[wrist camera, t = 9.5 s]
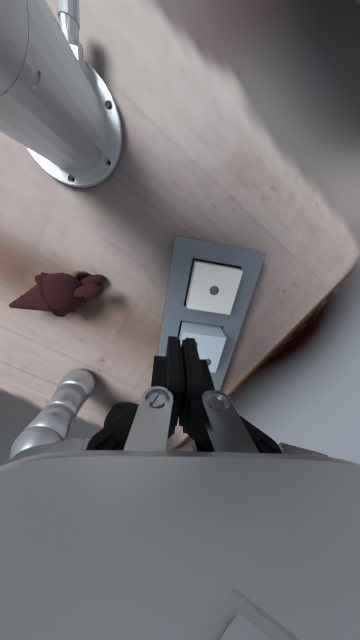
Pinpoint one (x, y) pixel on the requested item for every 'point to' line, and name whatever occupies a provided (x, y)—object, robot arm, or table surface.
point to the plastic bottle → (57, 412)
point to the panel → (229, 324)
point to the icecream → (59, 293)
